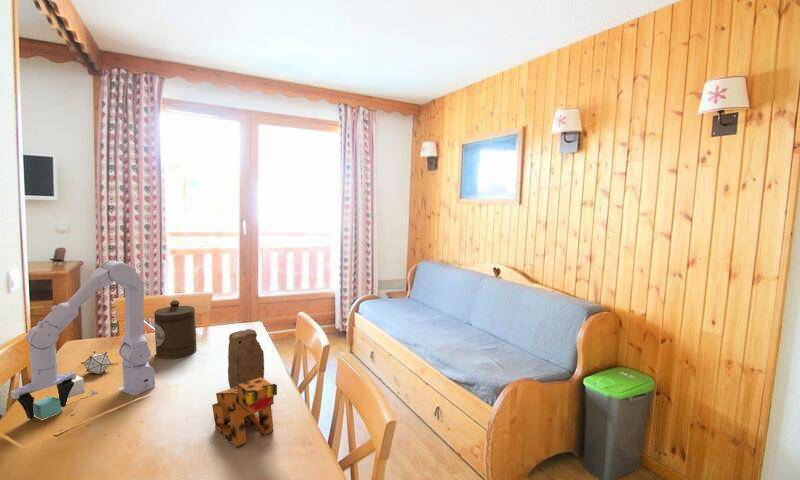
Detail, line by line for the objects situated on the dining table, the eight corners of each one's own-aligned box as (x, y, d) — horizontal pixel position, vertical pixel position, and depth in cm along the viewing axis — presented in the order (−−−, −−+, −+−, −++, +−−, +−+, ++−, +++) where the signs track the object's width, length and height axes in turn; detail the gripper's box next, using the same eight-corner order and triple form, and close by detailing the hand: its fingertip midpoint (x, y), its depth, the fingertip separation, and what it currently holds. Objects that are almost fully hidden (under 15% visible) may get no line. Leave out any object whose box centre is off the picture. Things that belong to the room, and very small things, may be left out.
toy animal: (247, 412, 124) (246, 361, 122) (281, 439, 110) (281, 383, 109) (212, 425, 116) (210, 372, 115) (244, 456, 103) (243, 396, 101)
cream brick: (84, 393, 132) (83, 378, 132) (68, 399, 128) (67, 383, 128) (77, 389, 134) (76, 375, 134) (60, 395, 130) (59, 380, 130)
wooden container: (158, 348, 173) (156, 298, 171) (197, 344, 179) (195, 295, 177) (153, 361, 160) (151, 306, 158) (195, 356, 166) (194, 303, 164)
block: (234, 397, 133) (233, 337, 131) (226, 388, 139) (225, 331, 137) (266, 387, 140) (266, 331, 138) (257, 379, 146) (257, 325, 144)
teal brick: (61, 415, 120) (60, 399, 119) (41, 423, 116) (40, 406, 115) (53, 411, 122) (51, 395, 121) (33, 419, 118) (32, 402, 117)
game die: (96, 386, 146) (79, 372, 139) (88, 372, 151) (72, 357, 144) (121, 369, 151) (107, 354, 144) (113, 355, 155) (98, 341, 148)
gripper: (66, 355, 125) (68, 397, 127) (4, 373, 113) (8, 419, 114) (78, 360, 122) (81, 403, 124) (16, 378, 109) (20, 426, 111)
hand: (47, 411), depth 119 cm, fingers open, 7 cm apart
